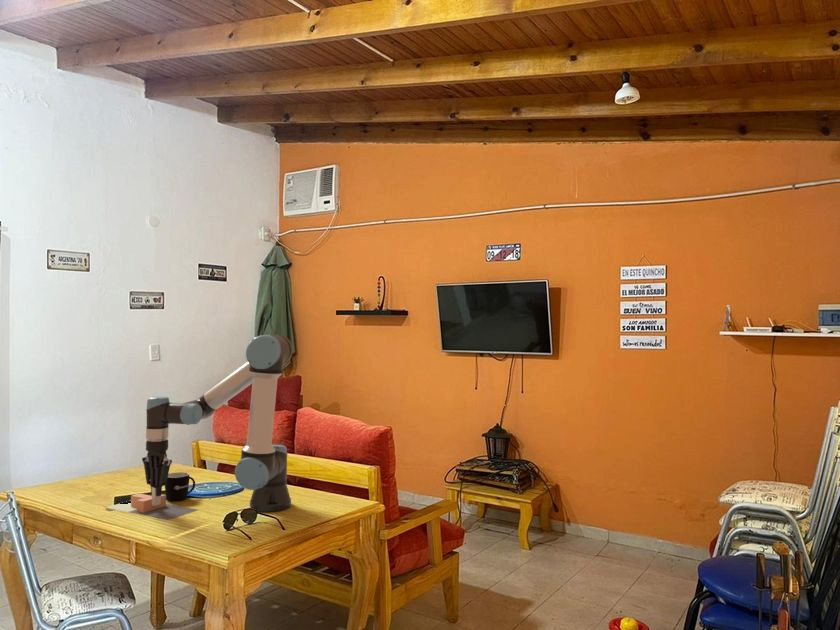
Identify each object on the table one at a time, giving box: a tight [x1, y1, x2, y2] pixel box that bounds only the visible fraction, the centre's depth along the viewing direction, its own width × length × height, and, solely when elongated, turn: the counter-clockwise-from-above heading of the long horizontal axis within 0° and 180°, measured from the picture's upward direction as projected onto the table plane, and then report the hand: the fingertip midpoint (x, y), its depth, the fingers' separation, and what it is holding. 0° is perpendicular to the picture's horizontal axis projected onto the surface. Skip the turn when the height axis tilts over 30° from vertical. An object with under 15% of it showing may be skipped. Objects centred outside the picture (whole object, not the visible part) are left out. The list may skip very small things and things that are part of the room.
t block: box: [130, 493, 167, 513], centre depth 236 cm, size 10×10×4 cm
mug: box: [164, 471, 196, 503], centre depth 249 cm, size 12×9×10 cm
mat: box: [105, 503, 198, 521], centre depth 235 cm, size 32×14×1 cm, turn 63°
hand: (156, 504), depth 234 cm, fingers closed
